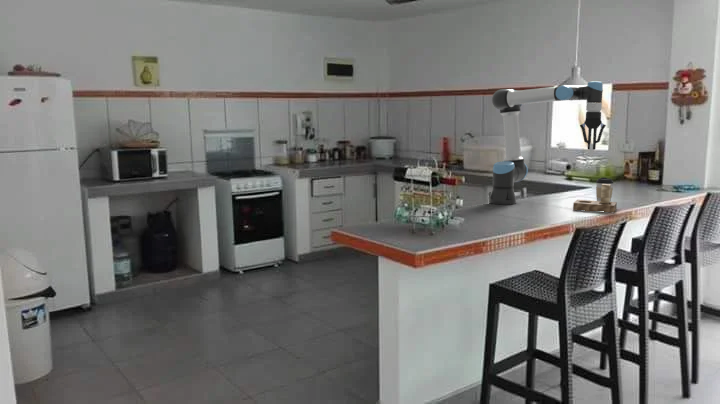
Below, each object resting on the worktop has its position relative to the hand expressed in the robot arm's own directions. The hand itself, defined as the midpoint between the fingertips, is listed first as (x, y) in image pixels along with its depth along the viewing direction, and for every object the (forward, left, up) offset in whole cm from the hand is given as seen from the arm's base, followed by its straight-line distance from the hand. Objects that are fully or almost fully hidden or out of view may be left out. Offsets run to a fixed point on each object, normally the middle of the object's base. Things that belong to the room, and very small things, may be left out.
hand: (591, 155), depth 312 cm
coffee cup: (+6, +14, -29) cm, 32 cm away
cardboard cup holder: (+4, -5, -28) cm, 29 cm away
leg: (+9, -5, -28) cm, 30 cm away
